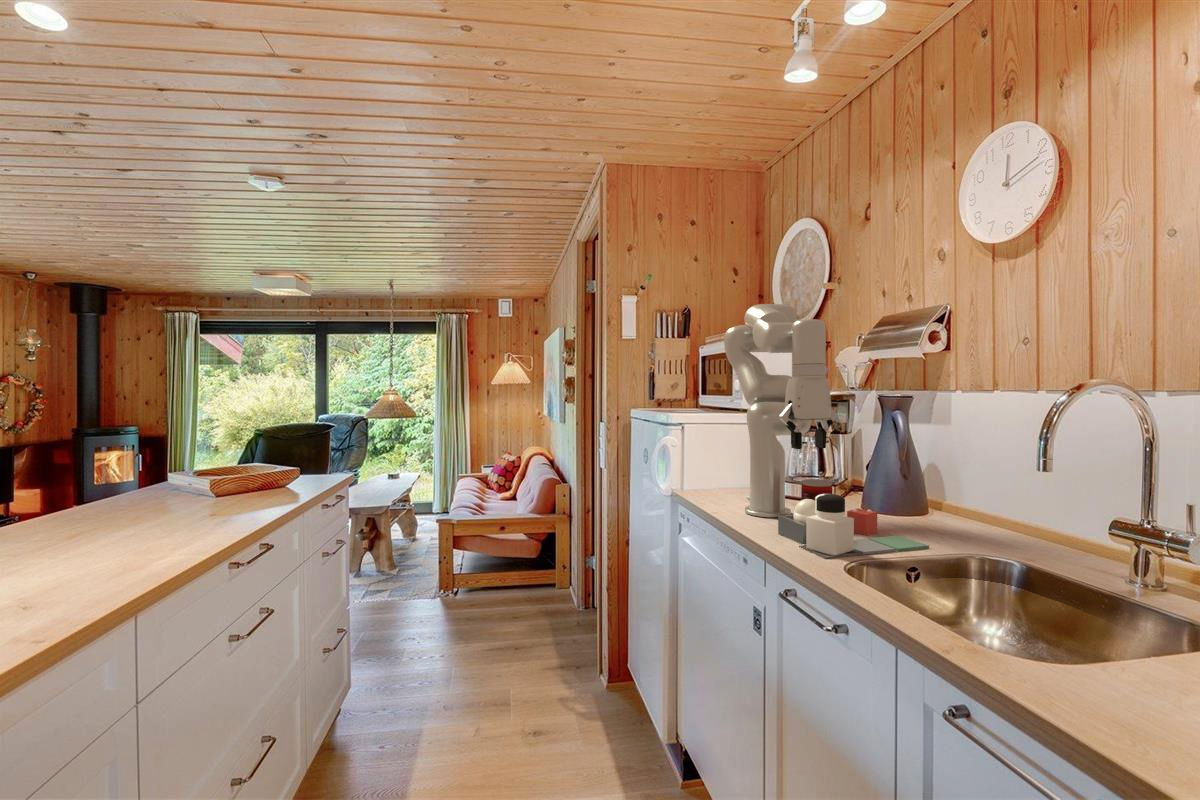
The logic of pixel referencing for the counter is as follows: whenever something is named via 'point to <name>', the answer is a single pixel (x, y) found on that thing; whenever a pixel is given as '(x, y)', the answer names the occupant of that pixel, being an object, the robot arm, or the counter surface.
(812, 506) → the dome
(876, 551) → the game board
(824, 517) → the medicine bottle
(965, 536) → the counter surface
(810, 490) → the canned food
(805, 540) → the base
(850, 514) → the red die
